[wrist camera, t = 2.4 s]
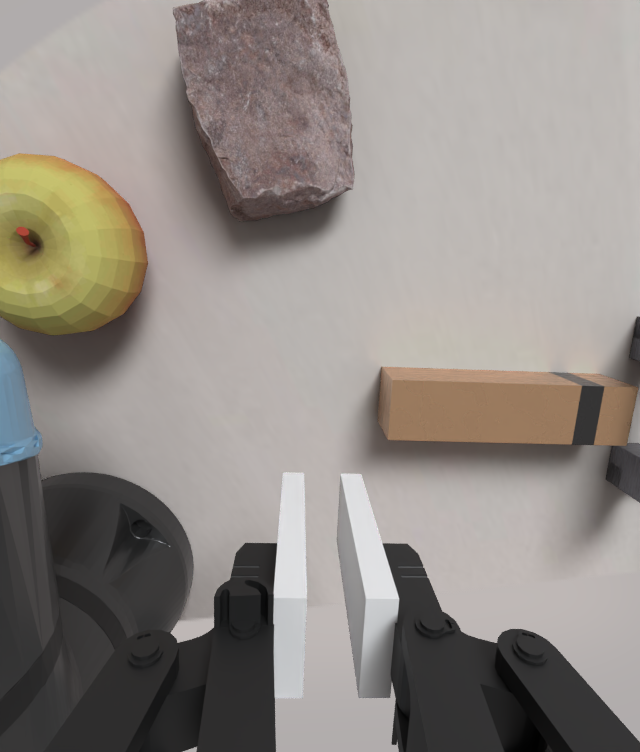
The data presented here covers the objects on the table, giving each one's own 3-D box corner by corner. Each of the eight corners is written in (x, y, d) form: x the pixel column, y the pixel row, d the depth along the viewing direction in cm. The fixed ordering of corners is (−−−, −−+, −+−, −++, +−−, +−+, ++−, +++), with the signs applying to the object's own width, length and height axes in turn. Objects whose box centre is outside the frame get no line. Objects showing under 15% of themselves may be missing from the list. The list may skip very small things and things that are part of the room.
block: (377, 420, 34) (388, 439, 30) (381, 366, 33) (392, 379, 29) (589, 426, 34) (626, 445, 31) (598, 373, 34) (638, 387, 30)
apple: (167, 184, 29) (119, 153, 22) (158, 335, 32) (112, 356, 24) (7, 161, 29) (-102, 120, 21) (9, 316, 31) (-89, 332, 23)
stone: (366, 196, 30) (377, 183, 26) (235, 234, 31) (223, 228, 26) (318, -6, 28) (321, -60, 23) (175, 37, 28) (150, -8, 23)
